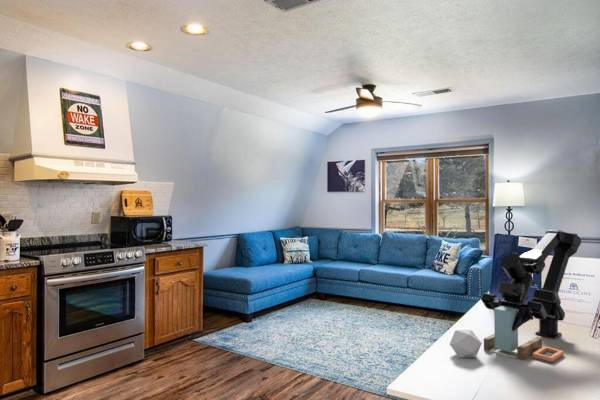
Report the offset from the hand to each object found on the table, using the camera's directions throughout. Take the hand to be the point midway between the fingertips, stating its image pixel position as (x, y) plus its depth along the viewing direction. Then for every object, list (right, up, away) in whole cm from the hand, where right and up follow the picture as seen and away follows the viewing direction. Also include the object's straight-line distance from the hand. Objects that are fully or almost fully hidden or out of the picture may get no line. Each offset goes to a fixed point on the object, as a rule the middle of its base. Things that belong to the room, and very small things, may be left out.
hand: (504, 328), depth 133 cm
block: (+1, -7, +1) cm, 7 cm away
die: (-13, -8, -1) cm, 15 cm away
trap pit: (+12, -8, -3) cm, 15 cm away
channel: (+5, -8, +4) cm, 10 cm away
